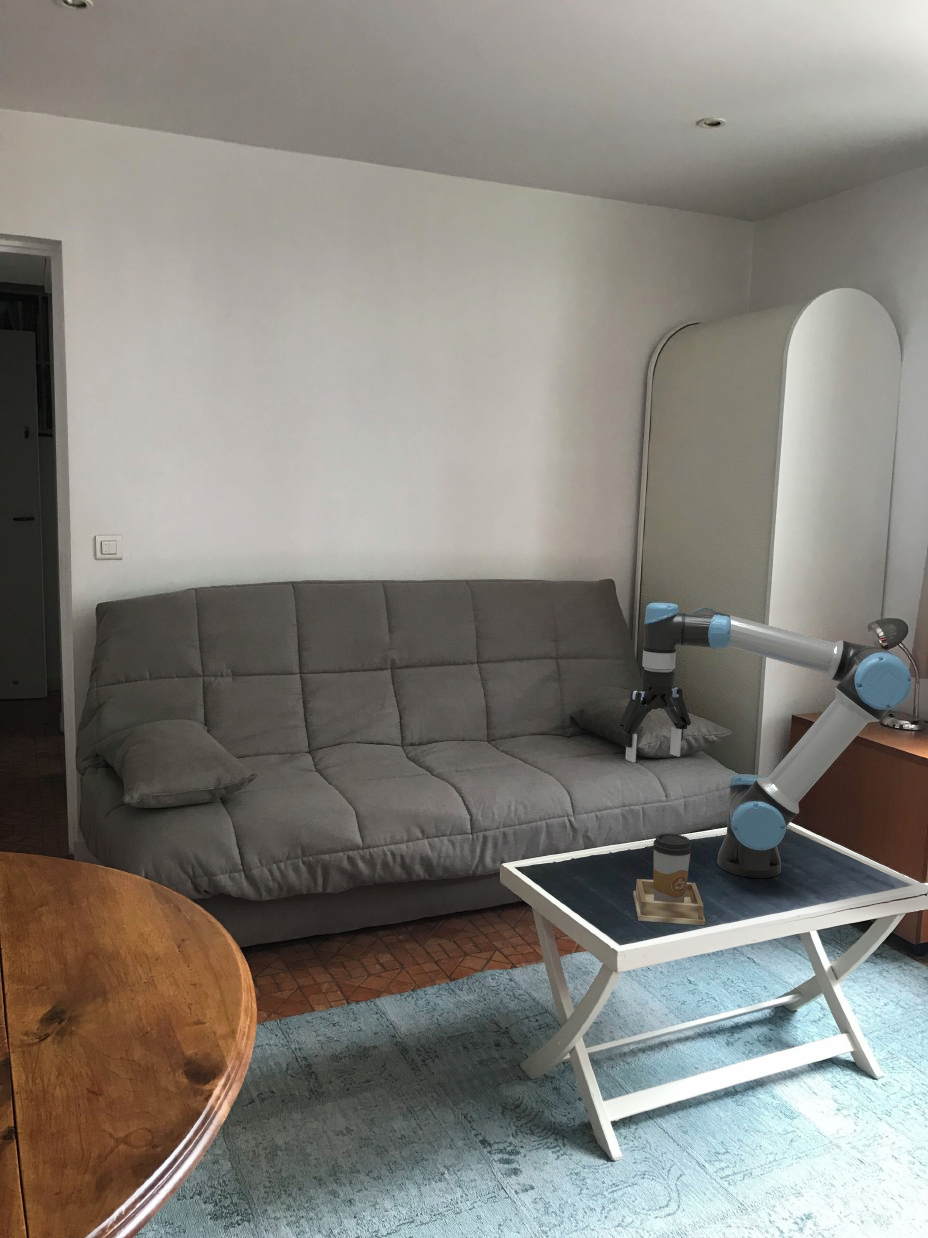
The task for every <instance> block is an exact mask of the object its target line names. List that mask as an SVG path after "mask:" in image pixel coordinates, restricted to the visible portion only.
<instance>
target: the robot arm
mask: <svg viewBox="0 0 928 1238" xmlns="http://www.w3.org/2000/svg"><path fill="white" fill-rule="evenodd" d="M643 624H644V625H643V627H644V628H643V649H642V664H641V665H642V667H643V669H642V670H641V677H640V683H641V685H642V688H641V691H637V690H633V689H632V690H631V692H630V697H629V698H630V699H629V701H628V702H627V706H626V707H625V710H624V713H623V715H622V716H621V719H620V721H619V723H618V726H617V730H618V731H621V732H623V733H624V747H625V760H626V761H629V762H631V763H636V759H637V741H638V734H637V733H636V731H637V730H638V728H639V726H640V725H641V724H642V722H643V721H644V719H645V718H646V717H647V715H648V714H649V713H650V712H651V711H652V710H658V709H661V710H664V712H665V713H666V714H667V716H668V718H669V719H670V721H671V722H672V724H673V726H672V727H671V731H670V733H671V734H670V747H669V755H672V756H674V757H681V746H682V742H683V740H684V730H688V727H689V726H691V725H692V724H691V723H692V721H691V718H690V716H689V712H688V709H687V707H686V704H685V699H684V696H683V695H684V694H683V693H684V691H683V689H682V688H680V687H676V686H674V685H675V671H674V669H676V657H677V655H676V654H677V646H685V647H686V646H688V647H699V648H700V647H701V648H710V649H711V648H712V649H717V648H718V649H725V648H731V649H736V650H739V651H742V652H746V653H749V654H753V655H756V656H760V657H764V658H768V659H772V660H775V661H779V662H783V663H785V664H789V665H794V666H797V667H801V668H805V669H808V670H811V671H816V672H819V673H822V674H826V676H827V677H828V679H829V680H831V681H832V680H833V681H836V682H839V683H838V684H837V685H836V686H835V688H834V690H835V698H834V699H833V700H832V702H831V703H830V704H829V705H828V707H826V709H825V710H824V711H823V712H822V714H821V715H820V716H819V717H818V718H817V719H816V720H815V722H814V723H813V724H812V725H811V727H809V728H808V729H807V731H806V732H805V733H804V735H802V737H801V738H800V739H799V740H798V742H797V743H796V744H795V745H794V746H793V747H792V749H791V750H790V751H789V752H788V753H787V754H786V755H785V756H784V758H783V759H782V760H781V761H780V762H779V764H778V765H777V766H776V767H775V769H774V770H773V771H772V772H771V773H770V774H769V775H768V776H766V775H760V774H752V773H751V774H748V773H744V774H742V773H739V774H734V775H732V776H731V778H730V783H729V785H728V787H729V794H728V809H727V810H728V811H727V823H726V834H725V837H724V839H723V841H722V844H721V846H720V849H719V850H718V854H717V861H716V863H717V865H718V866H719V868H721V870H724V871H725V872H728V873H730V874H733V875H736V876H740V877H747V878H753V879H755V878H756V879H767V878H768V879H769V878H772V877H776V876H778V875H780V874H781V871H782V860H781V856H780V852H779V849H778V845H779V844H780V843H781V842H782V840H783V838H784V837H785V834H786V832H787V827H788V826H789V825H790V823H791V822H792V821H793V820H794V819H795V817H797V816H798V814H799V813H800V807H799V803H800V801H801V800H802V799H803V798H804V797H805V796H806V794H807V793H808V792H809V791H810V790H811V788H813V786H814V785H815V784H816V783H817V782H818V781H819V779H820V778H821V777H822V776H823V775H824V774H825V773H826V772H827V770H828V769H829V768H830V767H831V766H832V764H833V763H834V762H835V761H836V760H837V759H838V758H839V756H841V754H842V753H843V752H844V751H845V749H847V747H848V746H849V745H850V744H852V742H853V740H854V739H855V738H856V737H857V736H858V735H859V734H860V733H861V731H862V730H863V729H864V728H865V727H866V725H867V724H870V723H874V722H880V721H881V719H882V718H883V717H884V716H885V715H886V714H887V713H888V712H889V710H891V709H895V708H896V707H898V706H900V705H902V704H903V702H905V701H906V700H907V698H908V697H909V695H910V693H911V690H912V684H913V682H912V676H911V673H910V670H909V668H908V666H907V665H906V663H905V662H904V661H903V660H901V658H900V657H897V656H896V655H895V654H893V653H891V652H890V651H889V650H888V649H884V648H883V647H879V646H874V645H868V644H867V645H866V644H861V643H855V642H850V641H846V640H842V639H840V640H838V641H836V642H832V641H828V640H824V639H821V638H818V637H814V636H810V635H806V634H803V633H799V632H794V631H791V630H787V629H782V628H780V627H777V626H776V627H775V626H773V625H768V624H764V623H761V622H758V621H753V620H750V619H745V618H743V617H738V616H734V615H731V614H730V615H729V614H726V613H722V612H719V611H715V610H714V609H713V608H709V607H700V608H698V609H695V610H694V611H692V613H684V612H680V610H679V605H678V604H676V603H670V602H669V603H668V602H651V603H649V604H647V606H646V607H645V617H644V623H643ZM671 698H672V700H671ZM672 701H673V702H672Z"/></svg>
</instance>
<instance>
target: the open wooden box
mask: <svg viewBox="0 0 928 1238" xmlns="http://www.w3.org/2000/svg"><path fill="white" fill-rule="evenodd" d="M632 895H633V900H634V905H635V910H636V915H637V920H638V922H651V923H654V922H655V923H665V924H668V923H669V924H678V925H679V924H681V925H695V926H706V918H705V915H704V903H703V900H702V898H701V895H700V892H699V890H698V887H697V885H696V882H688V881H687V885H686V892H685V897H684V903H677V902H663V901H654V886H653V879H641V878H636V884H635V890H633V894H632Z"/></svg>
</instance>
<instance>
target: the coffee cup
mask: <svg viewBox="0 0 928 1238" xmlns="http://www.w3.org/2000/svg"><path fill="white" fill-rule="evenodd" d="M652 843H653V845H652V849H653V870H652V871H653V876H652V877H653V878H652V880H653V886H654V901H663V902H677V903H684V897H685V892H686V885H687V882H688V878H689V877H688V876H689V866H690V860H691V853H692V852H693V851H692V844H691V840H690V838H689V837H687V836H684V835H681V834H677V833H668V832H666V833H661V834H658V835H656V836H655V839H654V840H653V842H652Z"/></svg>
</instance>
